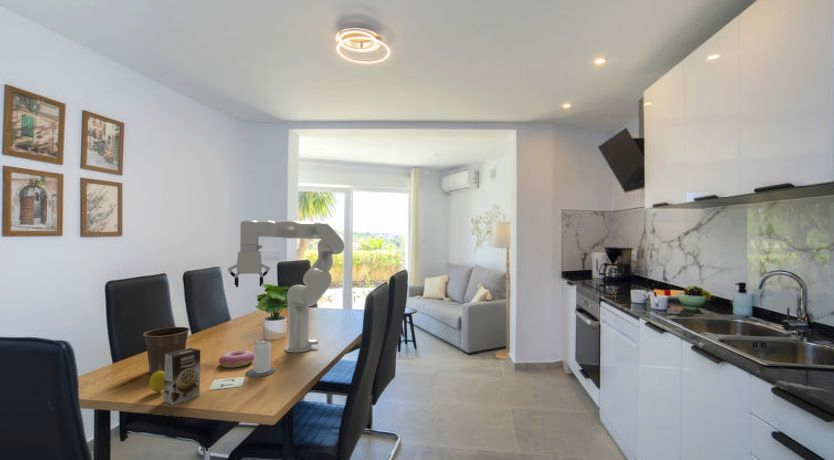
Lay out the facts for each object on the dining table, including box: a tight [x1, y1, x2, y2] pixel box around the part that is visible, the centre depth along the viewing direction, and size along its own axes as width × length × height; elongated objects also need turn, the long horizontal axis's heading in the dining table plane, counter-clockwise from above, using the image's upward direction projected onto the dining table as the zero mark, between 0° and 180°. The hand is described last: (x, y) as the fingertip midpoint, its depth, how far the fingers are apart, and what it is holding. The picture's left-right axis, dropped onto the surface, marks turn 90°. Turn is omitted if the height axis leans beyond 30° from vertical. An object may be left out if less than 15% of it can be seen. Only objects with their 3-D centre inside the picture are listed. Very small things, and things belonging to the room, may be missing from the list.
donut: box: [218, 349, 254, 369], centre depth 170 cm, size 14×13×5 cm
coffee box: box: [163, 347, 201, 406], centre depth 134 cm, size 9×6×16 cm
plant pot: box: [142, 326, 191, 375], centre depth 162 cm, size 16×16×16 cm
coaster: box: [245, 367, 276, 378], centre depth 160 cm, size 11×11×1 cm
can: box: [253, 339, 272, 374], centre depth 160 cm, size 6×6×12 cm
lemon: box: [149, 370, 164, 394], centre depth 139 cm, size 6×6×8 cm
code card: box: [208, 376, 246, 391], centre depth 148 cm, size 11×10×1 cm
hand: (249, 286), depth 174 cm, fingers open, 9 cm apart
